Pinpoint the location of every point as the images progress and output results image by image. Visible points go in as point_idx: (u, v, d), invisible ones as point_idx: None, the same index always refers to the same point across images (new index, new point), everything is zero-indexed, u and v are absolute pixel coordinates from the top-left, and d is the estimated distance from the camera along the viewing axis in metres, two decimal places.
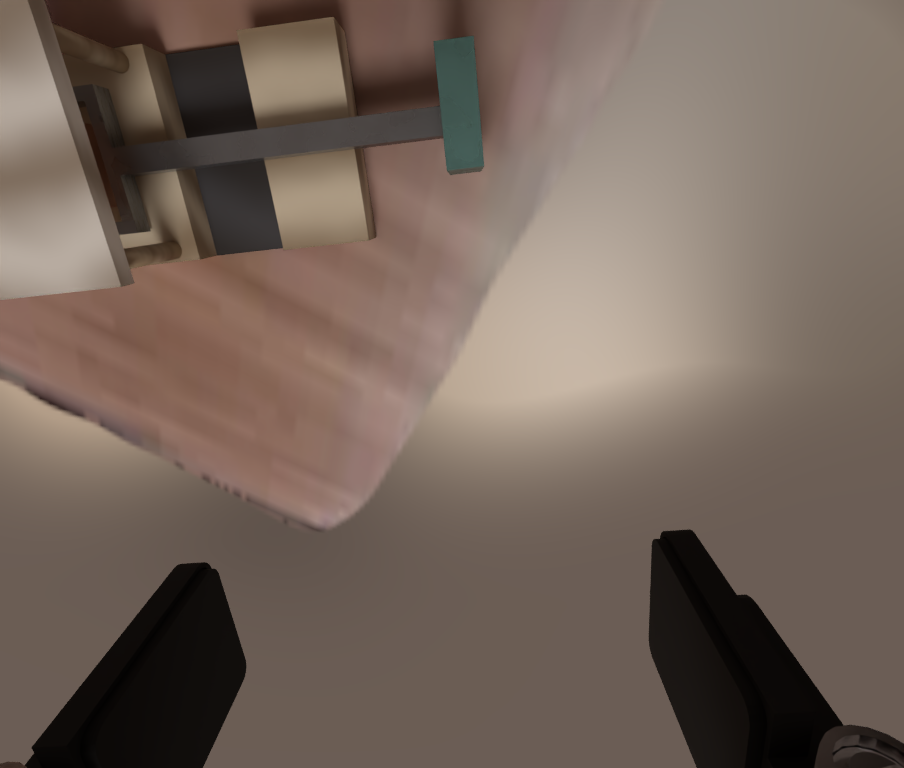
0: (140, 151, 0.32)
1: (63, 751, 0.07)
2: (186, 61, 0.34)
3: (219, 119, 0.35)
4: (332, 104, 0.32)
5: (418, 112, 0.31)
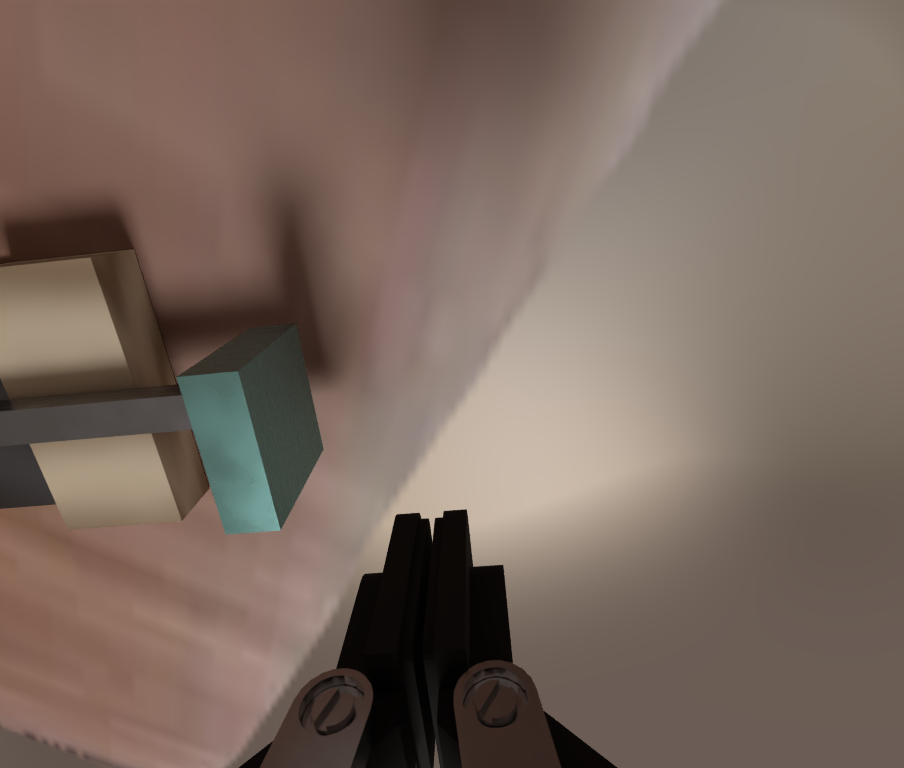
0: None
1: (388, 659, 0.08)
2: None
3: None
4: (106, 364, 0.23)
5: None
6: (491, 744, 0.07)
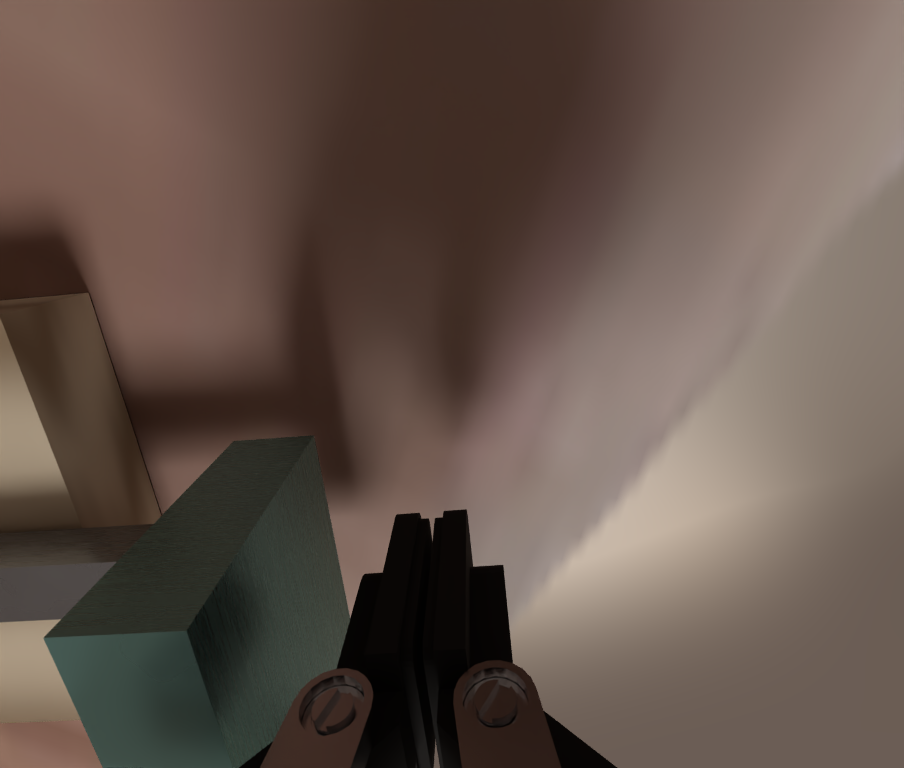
0: None
1: (388, 659, 0.08)
2: None
3: None
4: (31, 487, 0.14)
5: None
6: (491, 744, 0.07)
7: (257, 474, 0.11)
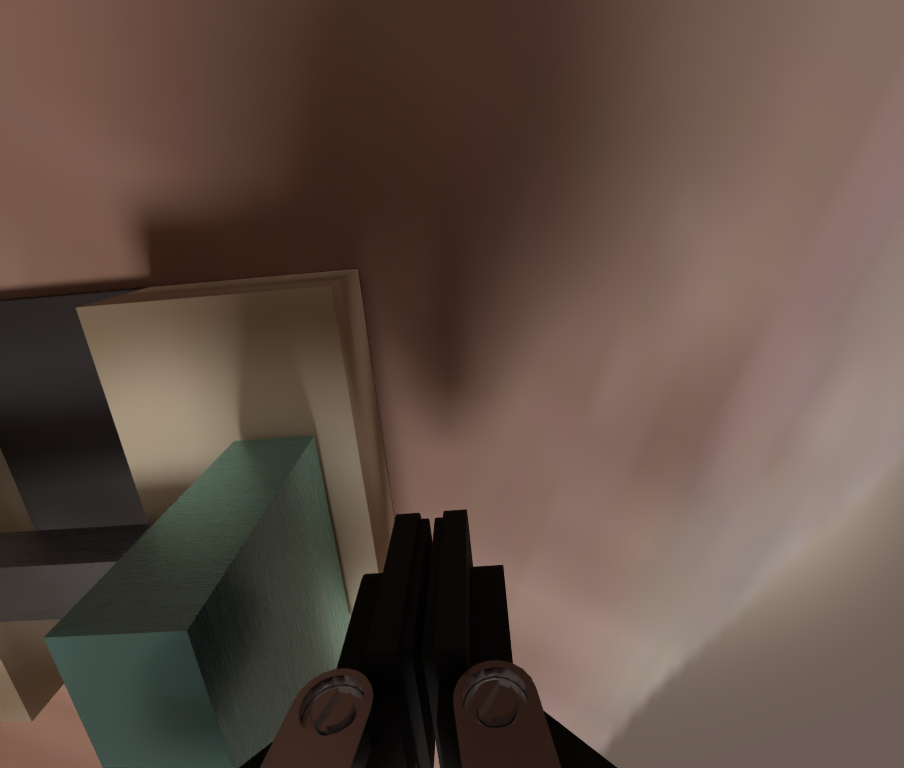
0: None
1: (389, 659, 0.08)
2: None
3: (75, 432, 0.16)
4: (324, 468, 0.13)
5: None
6: (491, 744, 0.07)
7: (257, 474, 0.11)
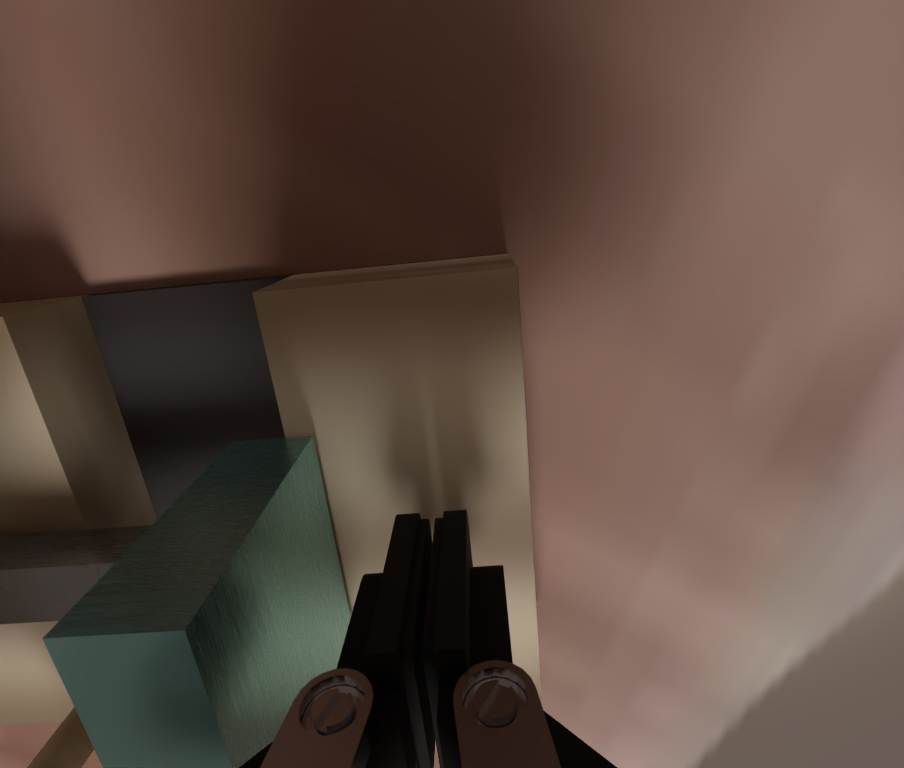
0: None
1: (389, 658, 0.08)
2: (131, 312, 0.15)
3: (208, 424, 0.16)
4: (489, 455, 0.13)
5: None
6: (491, 744, 0.07)
7: (256, 474, 0.11)
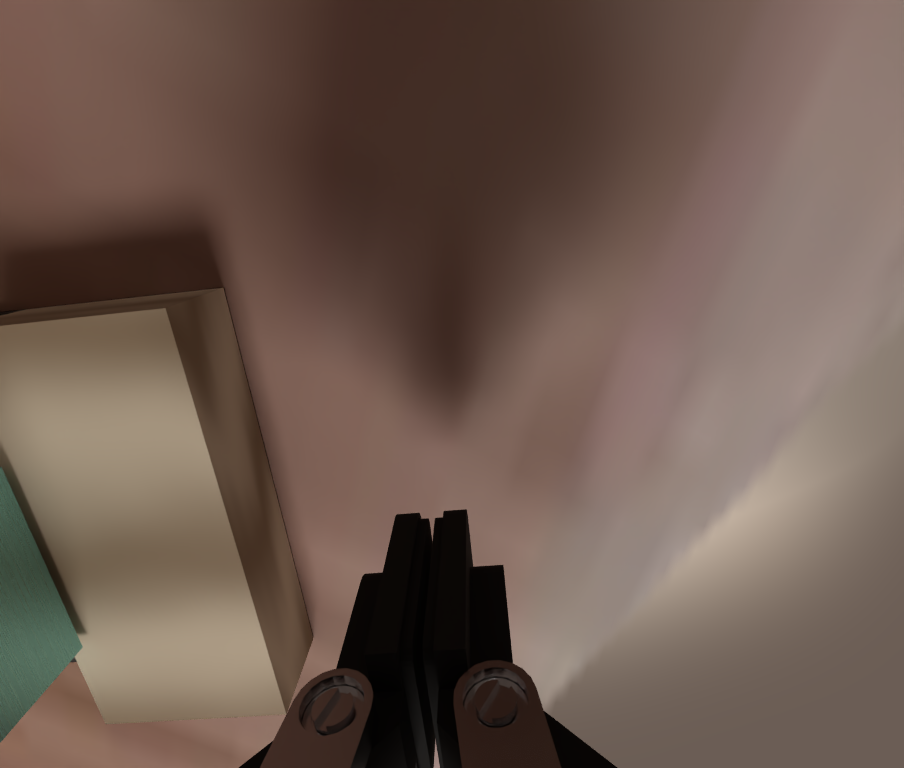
0: None
1: (388, 659, 0.08)
2: None
3: None
4: (182, 483, 0.13)
5: None
6: (491, 744, 0.07)
7: None
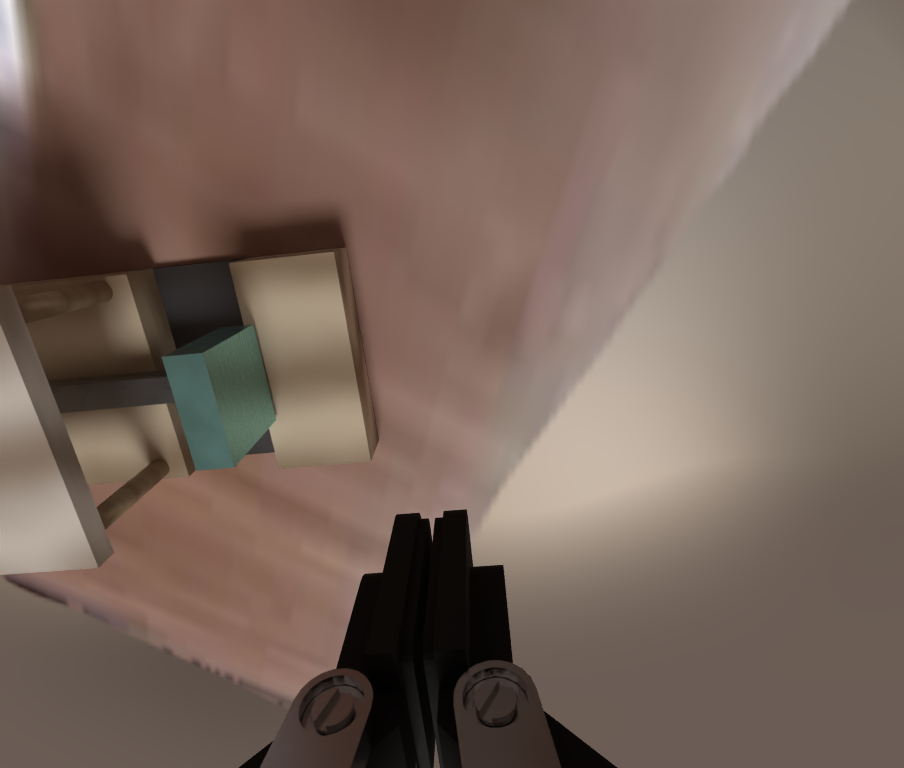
0: None
1: (388, 658, 0.08)
2: (175, 275, 0.32)
3: (211, 330, 0.33)
4: (332, 333, 0.30)
5: None
6: (491, 744, 0.07)
7: (228, 332, 0.28)
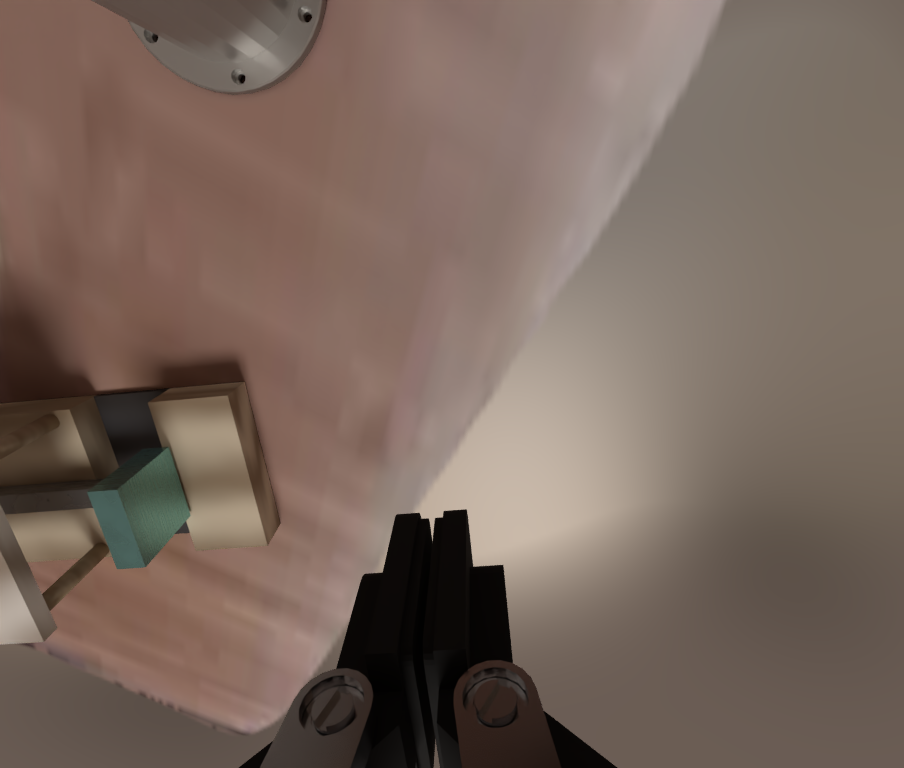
0: None
1: (388, 658, 0.08)
2: (111, 401, 0.40)
3: (141, 441, 0.41)
4: (230, 453, 0.39)
5: None
6: (491, 744, 0.07)
7: (145, 459, 0.37)
